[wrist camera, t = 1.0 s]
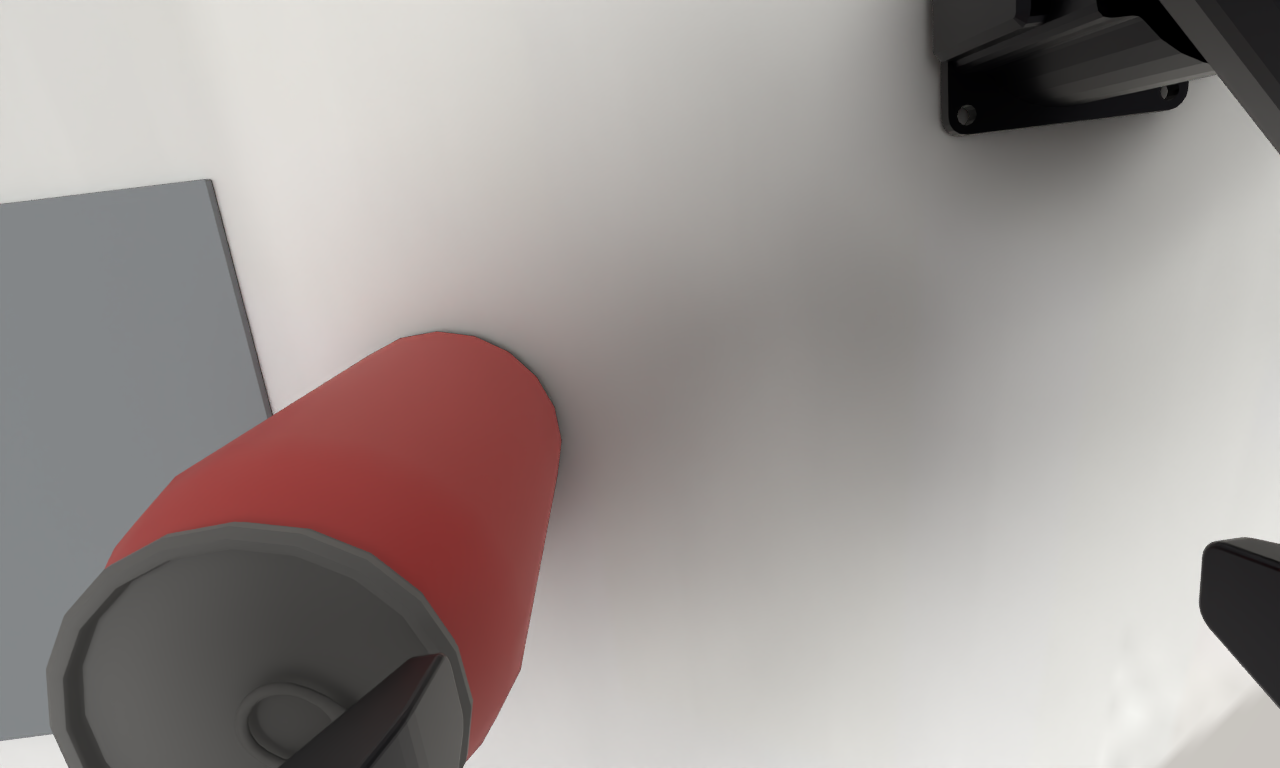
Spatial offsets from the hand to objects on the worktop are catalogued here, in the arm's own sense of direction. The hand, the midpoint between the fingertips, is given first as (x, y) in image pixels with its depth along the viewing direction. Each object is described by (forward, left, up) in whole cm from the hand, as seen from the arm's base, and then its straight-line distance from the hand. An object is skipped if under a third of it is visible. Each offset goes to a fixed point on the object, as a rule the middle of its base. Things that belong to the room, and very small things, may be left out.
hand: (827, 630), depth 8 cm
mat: (+18, +1, -13) cm, 23 cm away
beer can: (+7, +1, -13) cm, 15 cm away
